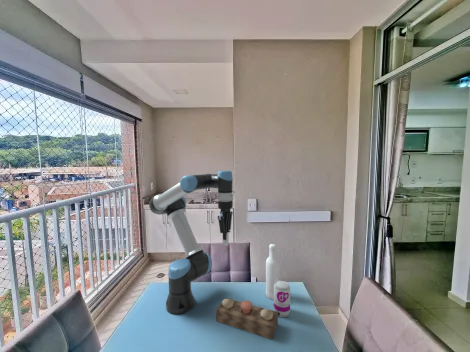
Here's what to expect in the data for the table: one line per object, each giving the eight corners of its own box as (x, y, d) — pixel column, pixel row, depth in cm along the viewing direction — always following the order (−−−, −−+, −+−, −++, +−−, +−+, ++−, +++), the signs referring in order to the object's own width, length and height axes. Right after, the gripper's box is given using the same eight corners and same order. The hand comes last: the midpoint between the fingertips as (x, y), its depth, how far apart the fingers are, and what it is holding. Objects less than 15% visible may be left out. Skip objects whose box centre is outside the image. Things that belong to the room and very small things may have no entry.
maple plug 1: (220, 317, 108) (220, 304, 107) (225, 310, 113) (225, 297, 112) (230, 320, 105) (230, 307, 105) (235, 313, 111) (235, 300, 110)
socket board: (216, 321, 106) (215, 309, 106) (225, 308, 115) (225, 297, 115) (272, 339, 95) (272, 326, 94) (277, 324, 104) (277, 312, 103)
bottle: (280, 293, 129) (280, 243, 127) (278, 301, 121) (278, 248, 119) (267, 290, 131) (266, 241, 130) (264, 298, 124) (264, 246, 122)
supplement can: (290, 319, 107) (290, 289, 106) (273, 316, 109) (273, 287, 108) (289, 308, 115) (289, 280, 114) (274, 306, 117) (273, 279, 116)
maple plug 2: (259, 330, 99) (259, 315, 99) (262, 321, 105) (262, 307, 104) (271, 333, 97) (271, 318, 97) (274, 325, 102) (274, 310, 102)
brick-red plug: (238, 320, 104) (238, 306, 103) (243, 312, 109) (243, 299, 108) (250, 323, 101) (249, 309, 101) (254, 316, 106) (253, 302, 106)
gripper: (226, 203, 105) (226, 250, 107) (237, 199, 117) (237, 241, 119) (212, 202, 108) (213, 248, 110) (224, 198, 120) (225, 239, 122)
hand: (225, 245), depth 114 cm, fingers closed
